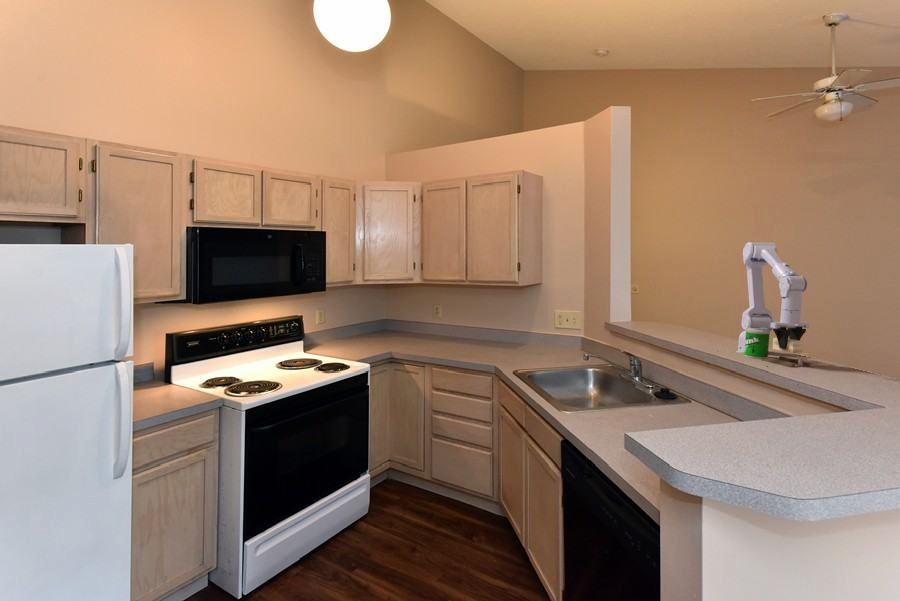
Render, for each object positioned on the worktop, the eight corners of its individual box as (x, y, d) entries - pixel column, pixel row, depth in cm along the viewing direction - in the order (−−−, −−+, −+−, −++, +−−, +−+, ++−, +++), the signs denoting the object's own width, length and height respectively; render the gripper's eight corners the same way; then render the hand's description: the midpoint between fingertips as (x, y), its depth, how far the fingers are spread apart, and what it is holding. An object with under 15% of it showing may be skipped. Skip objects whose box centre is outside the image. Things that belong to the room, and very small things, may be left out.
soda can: (760, 358, 188) (763, 326, 187) (771, 362, 180) (774, 329, 179) (740, 357, 188) (742, 326, 187) (750, 361, 181) (752, 329, 180)
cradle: (760, 362, 179) (761, 353, 178) (804, 361, 184) (805, 351, 183) (790, 370, 167) (791, 360, 167) (836, 368, 172) (837, 358, 172)
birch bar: (802, 352, 171) (802, 341, 170) (792, 353, 170) (793, 341, 169) (781, 348, 178) (782, 337, 178) (772, 348, 177) (773, 337, 177)
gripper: (784, 311, 167) (781, 351, 168) (818, 311, 170) (815, 349, 171) (766, 309, 174) (763, 347, 175) (799, 308, 177) (796, 346, 178)
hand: (787, 348), depth 174 cm, fingers closed on birch bar, 4 cm apart
